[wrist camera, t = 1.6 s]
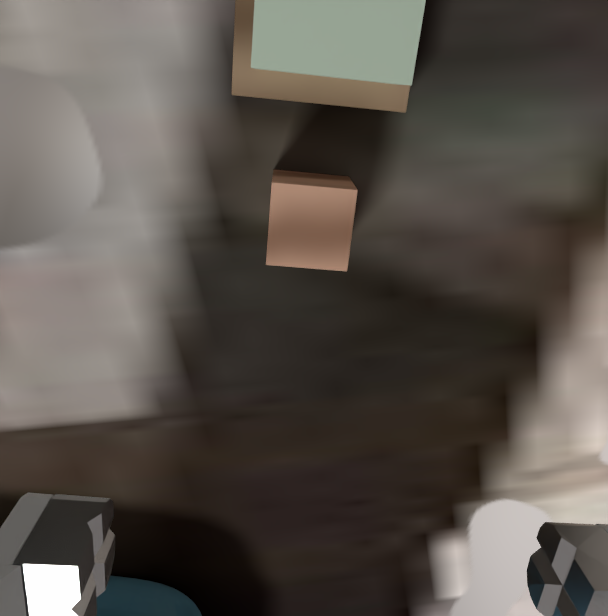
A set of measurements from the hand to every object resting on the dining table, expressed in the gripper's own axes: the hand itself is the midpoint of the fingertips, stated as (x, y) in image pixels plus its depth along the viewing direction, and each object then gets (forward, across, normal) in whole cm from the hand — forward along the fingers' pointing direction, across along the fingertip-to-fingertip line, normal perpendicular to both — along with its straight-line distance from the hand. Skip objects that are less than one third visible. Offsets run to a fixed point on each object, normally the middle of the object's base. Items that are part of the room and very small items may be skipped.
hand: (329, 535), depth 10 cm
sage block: (+25, -1, -13) cm, 28 cm away
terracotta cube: (+29, -1, 0) cm, 29 cm away
